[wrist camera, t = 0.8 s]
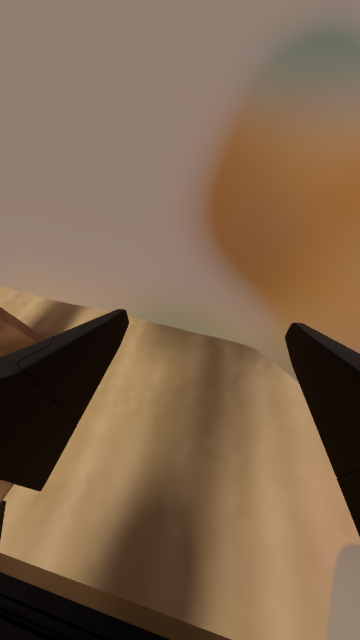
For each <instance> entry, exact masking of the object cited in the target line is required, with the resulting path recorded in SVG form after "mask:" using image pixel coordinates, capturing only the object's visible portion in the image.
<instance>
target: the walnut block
mask: <svg viewBox="0 0 360 640" xmlns="http://www.w3.org/2000/svg"><path fill="white" fill-rule="evenodd" d="M40 341H43V340H42V339H41V337H40V336H39V335H38V333H37V332H36V331H34V330H33V329H31V328H30V327H28V326H27V325H26V324H24V323H23V322H21V321H20V320H18V319H17V318H15V317H14V316H12V315H11V314H9V313H8V312H7V311H5V310H4V309H2V308H1V307H0V357H1V356H4V355H6V354H9V353H12V352H15V351H17V350H20V349H22V348H25V347H28V346H30V345H33V344H35V343H38V342H40Z"/></svg>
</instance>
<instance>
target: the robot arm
mask: <svg viewBox="0 0 360 640" xmlns="http://www.w3.org/2000/svg"><path fill="white" fill-rule="evenodd" d="M128 325H129V320H128V316H127V313H126V310H124V309H117V310H115V311H112V312H110V313H108V314H105V315H103V316H100V317H98V318H96V319H93V320H91V321H89V322H86V323H84V324H81V325H79V326H77V327H74V328H72V329H69V330H67V331H65V332H62V333H60V334H57V335H56V336H53V337H50V338H48V339H45V340H43V341H40V342H38V343H35V344H33V345H30V346H28V347H25V348H22V349H20V350H17V351H15V352H12V353H9V354H6V355H4V356H1V357H0V539H1V532H2V525H3V518H4V511H5V505H6V501H3V499H4V497H5V496H6V495H7V493H8V492H9V491H10V489H11V488H12V486H13V485H14V484H16V485H19V486H23V487H26V488H30V489H33V490H37V491H41V490H42V488H43V487H44V485H45V483H46V482H47V480H48V478H49V476H50V474H51V472H52V471H53V469H54V467H55V465H56V463H57V461H58V459H59V458H60V456H61V454H62V452H63V450H64V448H65V447H66V445H67V443H68V441H69V439H70V437H71V436H72V434H73V432H74V430H75V428H76V426H77V424H78V422H79V421H80V419H81V417H82V415H83V413H84V411H85V409H86V408H87V406H88V404H89V402H90V400H91V398H92V397H93V395H94V393H95V391H96V389H97V387H98V385H99V384H100V382H101V380H102V378H103V376H104V374H105V373H106V371H107V369H108V367H109V365H110V363H111V361H112V360H113V358H114V356H115V354H116V352H117V350H118V349H119V347H120V344H121V342H122V340H123V337H124V335H125V332H126V330H127V327H128ZM285 340H286V344H287V348H288V352H289V356H290V359H291V363H292V366H293V369H294V372H295V374H296V377H297V379H298V382H299V384H300V387H301V389H302V392H303V394H304V397H305V399H306V402H307V404H308V407H309V409H310V412H311V415H312V417H313V420H314V422H315V425H316V427H317V430H318V432H319V435H320V437H321V440H322V442H323V445H324V447H325V450H326V452H327V455H328V457H329V460H330V463H331V465H332V468H333V470H334V473H335V475H336V477H337V481H338V483H339V486H340V488H341V491H342V493H343V496H344V498H345V501H346V503H347V506H348V508H349V511H350V513H351V516H352V518H353V521H354V524H355V526H356V529H357V531H358V534H359V536H360V354H359V353H357V352H355V351H354V350H351V349H350V348H348V347H346V346H344V345H342V344H340V343H338V342H337V341H335V340H333V339H331V338H329V337H327V336H325V335H323V334H322V333H320V332H318V331H316V330H314V329H312V328H310V327H308V326H306V325H305V324H302V323H292V324H291V326H290V328H289V329H288V331H287V333H286V336H285ZM0 640H231V639H228V638H226V637H223V636H220V635H218V634H215V633H212V632H210V631H207V630H204V629H202V628H199V627H196V626H194V625H191V624H188V623H186V622H183V621H180V620H178V619H175V618H172V617H170V616H167V615H164V614H162V613H159V612H156V611H154V610H151V609H148V608H146V607H143V606H140V605H138V604H135V603H132V602H130V601H127V600H124V599H122V598H119V597H116V596H114V595H111V594H108V593H106V592H103V591H100V590H98V589H95V588H92V587H90V586H87V585H84V584H82V583H79V582H76V581H74V580H71V579H68V578H66V577H63V576H60V575H58V574H55V573H52V572H50V571H47V570H44V569H42V568H39V567H36V566H34V565H31V564H28V563H26V562H23V561H20V560H18V559H15V558H12V557H10V556H7V555H4V554H2V553H0Z"/></svg>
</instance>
